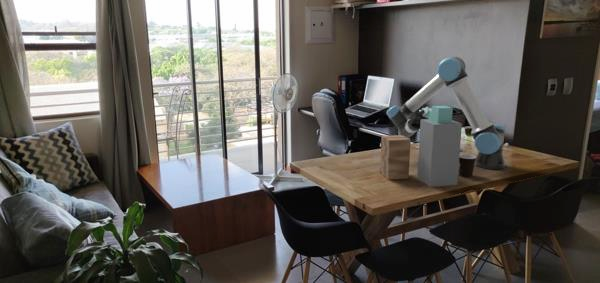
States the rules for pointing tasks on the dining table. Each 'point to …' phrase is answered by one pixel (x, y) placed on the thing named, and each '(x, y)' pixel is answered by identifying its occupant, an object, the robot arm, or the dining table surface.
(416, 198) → the dining table surface
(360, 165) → the dining table surface
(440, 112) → the teal bar
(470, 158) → the coffee mug
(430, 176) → the stand
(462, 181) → the dining table surface
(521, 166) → the dining table surface
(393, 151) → the walnut block
